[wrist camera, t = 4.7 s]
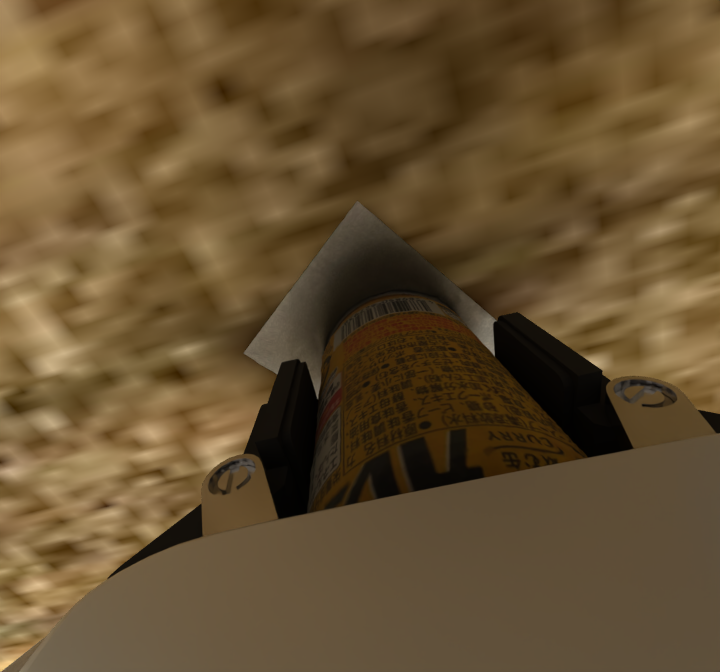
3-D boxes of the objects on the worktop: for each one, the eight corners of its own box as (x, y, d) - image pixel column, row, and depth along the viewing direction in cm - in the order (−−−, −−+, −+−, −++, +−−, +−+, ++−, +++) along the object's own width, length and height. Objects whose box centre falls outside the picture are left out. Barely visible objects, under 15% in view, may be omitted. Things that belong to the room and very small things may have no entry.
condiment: (400, 449, 16) (526, 989, 5) (244, 351, 14) (-120, 962, 3) (516, 336, 14) (1102, 827, 3) (356, 200, 12) (558, 320, 1)
